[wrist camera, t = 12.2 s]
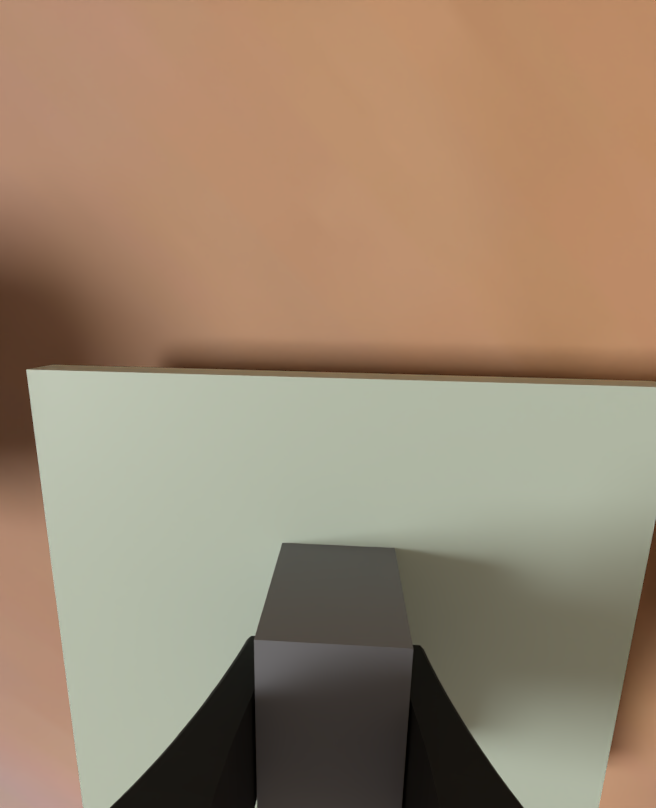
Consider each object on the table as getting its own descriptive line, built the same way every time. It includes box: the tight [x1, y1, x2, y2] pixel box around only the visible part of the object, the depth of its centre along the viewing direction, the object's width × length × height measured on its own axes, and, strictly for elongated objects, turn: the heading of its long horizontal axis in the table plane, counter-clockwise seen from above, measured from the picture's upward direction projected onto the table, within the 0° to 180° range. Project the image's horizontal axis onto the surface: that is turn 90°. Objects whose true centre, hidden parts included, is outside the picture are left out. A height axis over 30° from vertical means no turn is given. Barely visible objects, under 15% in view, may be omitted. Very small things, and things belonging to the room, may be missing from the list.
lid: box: [26, 365, 656, 808], centre depth 11 cm, size 15×16×4 cm
